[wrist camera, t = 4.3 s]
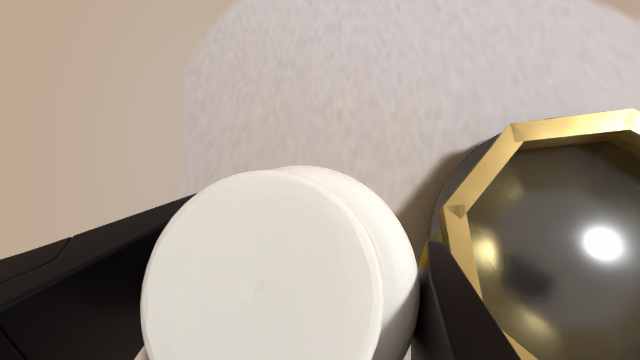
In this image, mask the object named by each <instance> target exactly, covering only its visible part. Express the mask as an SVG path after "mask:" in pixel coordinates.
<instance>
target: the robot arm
mask: <svg viewBox="0 0 640 360" xmlns="http://www.w3.org/2000/svg"><path fill="white" fill-rule="evenodd" d="M196 194H197V193H196ZM196 194H193V195H190V196H187V197H184V198H181V199H179V200H176V201H173V202H170V203H167V204H164V205H161V206H159V207H155V208H153V209H150V210H147V211H144V212H141V213H138V214H135V215H132V216H129V217H127V218H124V219H121V220H118V221H115V222H112V223H109V224H106V225H103V226H100V227H98V228H95V229H92V230H89V231H86V232H83V233H81V234H77V235H75V236H73V237H69V238H66V239H63V240H60V241H57V242H54V243H51V244H48V245H45V246H42V247H39V248H36V249H33V250H30V251H27V252H24V253H21V254H18V255H14V256H11V257H8V258H4V259H1V260H0V360H134V359H135V357H136V356H137V355H138V353H139V352H140V350H141V349H142V348H143V346H144V340H143V335H142V328H141V313H140V301H141V291H142V284H143V279H144V275H145V271H146V267H147V264H148V262H149V259H150V256H151V254H152V251H153V249H154V246H155V244H156V242H157V240H158V238H159V237H160V235H161V233H162V231H163V230H164V228H165V227H166V225H167V224H168V223H169V221H170V220H171V218H172V217H173V216H174V215H175V214H176V212H177V211H178V210H179V209H180V208H181V207H182V206H183V205H184V204H185V203H186V202H187V201H189V200H190V199H191V198H192V197H193V196H195V195H196ZM418 275H419V283H420V306H419V313H418V319H417V324H416V328H415V332H414V335H413V338H412V341H411V360H521V358H520V357H519V355H518V354H517V352H516V351H515V349H514V348H513V346H512V345H511V343H510V342H509V340H508V339H507V337H506V336H505V334H504V333H503V331H502V329H501V328H500V326H499V325H498V323H497V322H496V320H495V319H494V317H493V316H492V314H491V313H490V311H489V310H488V308H487V307H486V305H485V304H484V302H483V301H482V299H481V298H480V296H479V295H478V293H477V292H476V290H475V289H474V287H473V286H472V284H471V283H470V281H469V280H468V278H467V277H466V275H465V274H464V272H463V271H462V269H461V267H460V266H459V264H458V263H457V261H456V260H455V258H454V257H453V255H452V254H451V252H450V251H449V249H448V248H447V246H446V245H445V244H444V243H442V242H438V241H434V240H427V241H426V243H425V246H424V249H423V252H422V255H421V259H420V262H419V266H418Z"/></svg>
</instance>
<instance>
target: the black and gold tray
mask: <svg viewBox="0 0 640 360" xmlns="http://www.w3.org/2000/svg"><path fill="white" fill-rule="evenodd" d="M429 240H434V241H438V242H442V243H444V244H445V245H446V246H447V248H448V249H449V251H450V252H451V254H452V255H453V257H454V258H455V260H456V261H457V263H458V264H459V266H460V267H461V269H462V271H463V272H464V274H465V275H466V277H467V278H468V280H469V281H470V283H471V284H472V286H473V287H474V289H475V290H476V292H477V293H478V295H479V296H480V298H481V299H482V301H483V302H484V304H485V305H486V307H487V308H488V310H489V311H490V313H491V314H492V316H493V317H494V319H495V320H496V322H497V323H498V325H499V326H500V328H501V329H502V331H503V333H504V334H505V336H506V337H507V339H508V340H509V342H510V343H511V345H512V346H513V348H514V349H515V351H516V352H517V354H518V355H519V357H520V358H521V360H640V112H638V111H637V110H635V109H628V110H619V111H611V112H603V113H595V114H586V115H578V116H570V117H561V118H549V119H544V120H537V121H529V122H521V123H512V124H510V125H509V126H508V127H507V128H506V129H505V130H504V131H503V132H502V133H500V134H498V135H496V136H494V137H493V138H491V139H489V140H488V141H486V142H484V143H483V144H482V145H481V146H479V147H478V148H477V149H476V150H474V151H473V152H472V153H471V154H470V155H469V156H468V157H467V158H466V159H465V160H464V161H463V162H462V163H461V164H460V165H459V166H458V167H457V169H456V170H455V171H454V172H453V173H452V175H451V176H450V178H449V179H448V181H447V182H446V183H445V185H444V187H443V189H442V191H441V193H440V195H439V197H438V198H437V201H436V204H435V207H434V210H433V213H432V217H431V223H430V228H429Z"/></svg>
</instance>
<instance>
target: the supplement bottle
mask: <svg viewBox="0 0 640 360" xmlns="http://www.w3.org/2000/svg"><path fill="white" fill-rule="evenodd" d="M419 306H420V283H419V275H418V269H417V263H416V259H415V256H414V252H413V249H412V246H411V244H410V241H409V239H408V237H407V235H406V233H405V231H404V229H403V227H402V226H401V224H400V222H399V221H398V219H397V218H396V216H395V215H394V214H393V212H392V211H391V210H390V208H389V207H388V206H387V205H386V204H385V203H384V201H383V200H382V199H381V198H380V197H379V196H377V195H376V194H375V193H374V192H373V191H372V190H370V189H369V188H368V187H366V186H365V185H363V184H362V183H360V182H359V181H357V180H355V179H354V178H352V177H349V176H347V175H345V174H343V173H340V172H337V171H334V170H331V169H327V168H323V167H317V166H306V165H295V166H285V167H279V168H274V169H270V170H255V171H249V172H242V173H238V174H235V175H232V176H229V177H226V178H224V179H221V180H219V181H217V182H215V183H213V184H211V185H209V186H208V187H206V188H205V189H203V190H202V191H200V192H199V193H197V194H196V195H195V196H193V197H192V198H191V199H190V200H189V201H187V202H186V203H185V204H184V205H183V206H182V207H181V208H180V209H179V210H178V211H177V212H176V214H175V215H174V216H173V217H172V218H171V220H170V221H169V223H168V224H167V225H166V227H165V228H164V230H163V231H162V233H161V235H160V237H159V238H158V240H157V242H156V244H155V246H154V249H153V251H152V254H151V256H150V259H149V262H148V264H147V267H146V271H145V275H144V279H143V284H142V291H141V301H140V313H141V328H142V335H143V340H144V345H145V348H146V351H147V354H148V358H149V360H403V358H404V357H405V355H406V353H407V351H408V349H409V347H410V344H411V341H412V338H413V335H414V332H415V328H416V324H417V319H418V313H419Z"/></svg>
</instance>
